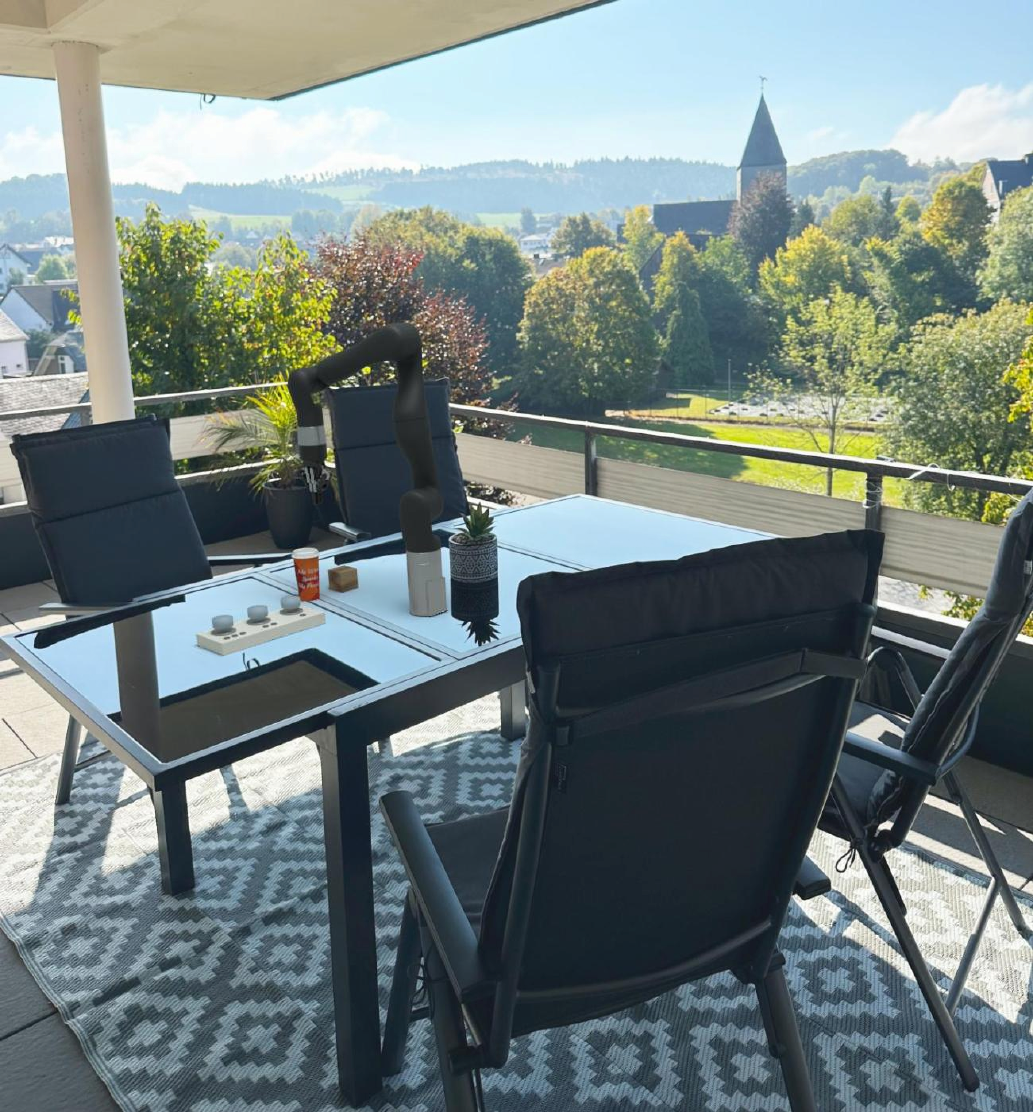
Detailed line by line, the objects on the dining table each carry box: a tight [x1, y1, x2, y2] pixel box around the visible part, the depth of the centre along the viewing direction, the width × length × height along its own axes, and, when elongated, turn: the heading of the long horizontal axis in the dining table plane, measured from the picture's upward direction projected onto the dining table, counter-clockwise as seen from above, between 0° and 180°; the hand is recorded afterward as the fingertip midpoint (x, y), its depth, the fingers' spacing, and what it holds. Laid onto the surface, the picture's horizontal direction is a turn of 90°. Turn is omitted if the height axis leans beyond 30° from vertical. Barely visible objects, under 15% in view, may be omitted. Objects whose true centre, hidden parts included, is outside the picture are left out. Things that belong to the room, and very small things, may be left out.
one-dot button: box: [279, 595, 302, 609], centre depth 260 cm, size 5×5×2 cm
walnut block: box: [327, 565, 359, 594], centre depth 290 cm, size 6×6×6 cm
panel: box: [195, 605, 326, 656], centre depth 253 cm, size 12×30×3 cm, turn 137°
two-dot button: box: [246, 604, 269, 619], centre depth 253 cm, size 5×5×2 cm
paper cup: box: [291, 547, 321, 602], centre depth 281 cm, size 8×8×14 cm
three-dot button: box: [211, 614, 234, 629], centre depth 246 cm, size 5×5×2 cm
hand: (317, 504), depth 276 cm, fingers closed
